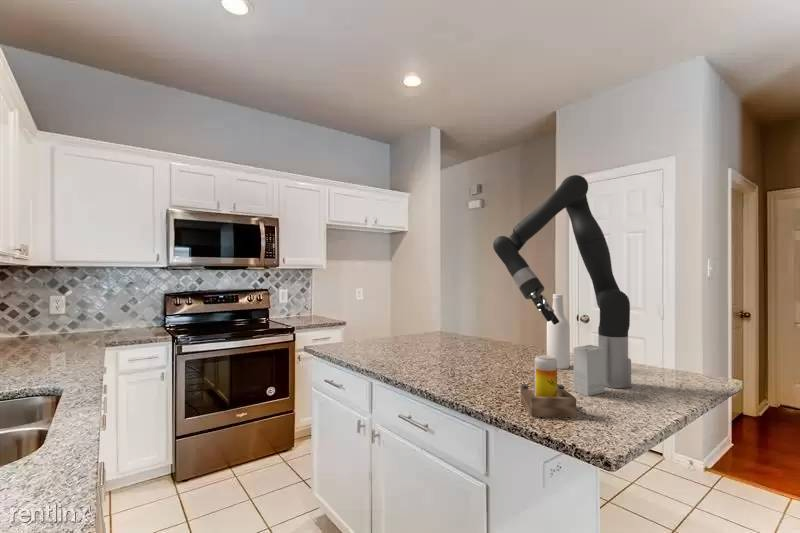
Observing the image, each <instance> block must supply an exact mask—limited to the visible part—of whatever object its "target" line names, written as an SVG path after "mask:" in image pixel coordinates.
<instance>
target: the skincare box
mask: <svg viewBox="0 0 800 533" xmlns="http://www.w3.org/2000/svg"><path fill="white" fill-rule="evenodd" d="M605 387H606V386H605V348H602V347H598V345H593V344H587V345H582V346H581V345H580V346H576V347H573V391H574V392H575V393H578V394H581V395H584V396H586V397H590V396H593V395H594V396H595V395H598V394H604V393H605V390H606V389H605Z"/></svg>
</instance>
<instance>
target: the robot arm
mask: <svg viewBox="0 0 800 533" xmlns="http://www.w3.org/2000/svg"><path fill="white" fill-rule="evenodd" d="M588 190H589V183H588V180H587V179H586V178H585V177H584V176H582V175H579V174H578V175H577V174H573V175H569V176H568V177H566V178H564V180H562V182H561V183H560V185H559V186H558V188H556V190H555V191H554V192H553V193H552V194H551V195H550V196H549V197H548V198H547V199H546V200H545V201H544V202H542V203H541V205H539V206H537V208H535V209H534V210H532V211H531V212H530V213H529V214H528V215H527V216H525V217H524V218H523V219H522V220H520V221H519V223H517V224H516V225H515V226H514V227H513V228H512V233H511V234H510V235H509V236H506V235H500V236H497V237H496V238H495V239H494V240H493V245H492V248H493V251H494V252H495V253H496V255H497V256H498V259H500V260H501V261H502V263H503V264H504V266H505V268H506V270H507V271H508V272H509V274H510V276H511V278H512V279H513V281H514V284H516V286H517V288H518V289H519V291H520V293H521V294H522V296H523V298H525V300H531V301H532V303H533V304H534V305H535V308H536V309H537V310H538V311H539V312H540V313H541V314H542V316H543V317H544V319H545V320H546V322H547V321H548V322H549V321H552V323H553V324H554V325H555V324H557V323H559V320H558V318H557V317H556V315H555V314H554V310H553V309H552V307H553V306H552V305H551V304H550V303H549V301H548V299H547V297H546V296H545V295H543V294H542V293H543V292H544V290H545V286H544V284H543V283H542V282H541V280H540V279H539V277H538V276H537V274H536V273H535V272H534V270H533V269H532V268H531V267H530V266H529V264H528V263H527V261H526V259H525V258H524V257H523V256H522V255H521V254H520V250H521V249H522V248H523V247H524V246H525V244H526V243H527V242H528V241H529V240H531V238H533V237H534V236H535V235H536V234H537V233H539V231H542V229H543V228H544V227H545V226H546V225H547V224H549V223H550V221H551V220H552V219H553V218H554V217H555V216H557V215H558V214H559V213H560V212H562V211H563V210H564V209H565V210H566V212H567V214H568V216H569V219H570V223H571V228H572V232H573V235H574V239H575V242H576V245H577V248H578V251H579V253H580V257H581V259H582V262H583V265H584V266H585V268H586V271H587V273H588V275H589V276H590V277H589V278H590V279H591V283H592V285H593V290H594V294H595V300H596V304H597V307H598V309H599V325H598V328H597V329H598V330H597V331H598V336H597V337H598V345H597V347H602V348H605V387H607V388H612V389H613V388H614V389H626V388H632V359H631V358H629V330H630V326H631V324H630V323H631V320H630V319H631V303H630V299H629V297H628V295H627V294H626V293H625V292H623V291H622V290H620V287H619V286H618V283H617V282H616V279H615V276H614V274H613V268H612V260H611V259H612V258H611V253H610V249H609V246H608V243H607V240H606V237H605V234H604V233H603V230H602V229H601V227H600V225H599V223H598V222H597V220H596V219H595V217H594V215H593V213H592V211H591V208H590V205H589V201H588V197H587V194H588Z"/></svg>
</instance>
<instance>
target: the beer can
mask: <svg viewBox="0 0 800 533" xmlns="http://www.w3.org/2000/svg"><path fill="white" fill-rule="evenodd" d="M557 384H558V369H557V360H556V358H555V357H554V356H551V355H547V354H536V356H535V358H534V395H535V396H536V397H557Z"/></svg>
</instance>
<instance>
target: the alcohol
mask: <svg viewBox="0 0 800 533" xmlns="http://www.w3.org/2000/svg"><path fill="white" fill-rule="evenodd" d="M551 307H552V309H553V310H554V314H555V315H556V317H557V318H558V320H559V323H557V324H555V325H554V324H553V323H552V321H549V322H548V321H547V320H546V355H551V356H554V357H555V358H556V360H557V370H566V369H569V368H570V363H571V362H570V361H571V356H570V354H571V350H570V348H571V347H570V346H571V345H570V344H571V343H570V342H571V340H570V336H571V334H570V331H571V330H570V328H571V327H570V326H571V325H570V322H569V320H568V319H567V318H566V317H565V311H564V310H565V309H564V294H562V293H553V294H552V306H551Z"/></svg>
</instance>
